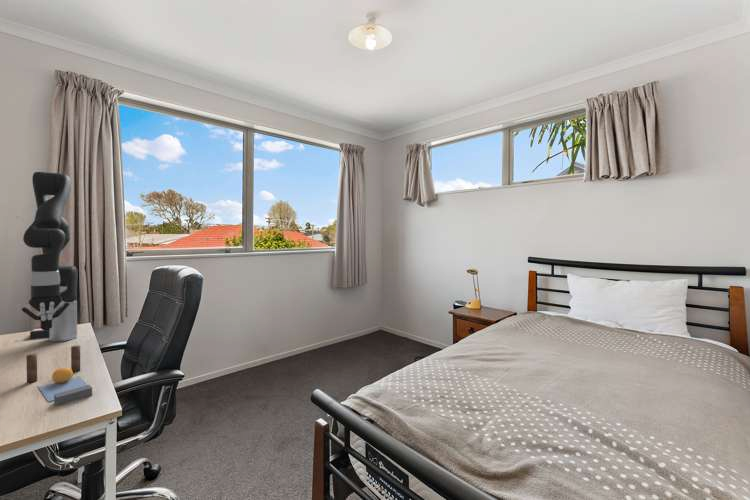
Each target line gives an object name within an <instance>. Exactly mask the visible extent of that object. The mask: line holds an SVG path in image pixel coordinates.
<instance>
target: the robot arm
mask: <svg viewBox="0 0 750 500" xmlns="http://www.w3.org/2000/svg"><path fill="white" fill-rule="evenodd" d="M32 174H33V175H32V182H31V183H32V188H33V194H34V197H35V202H36V211H35V216H34V220H33V222H31V224H30V225H29V227H28V228H27V229H26V230H25V231H24V234H23V236H22V237H23V238H22V240H23V243H24V244H25V245H26V246H27V247H29V248H33V249H36V248H37V249H42V251H41V252H42V253H39V254H34V255H33V256H32V257H31V272H30V273H31V274H30V299H29V301H28V304H26V305H23V306H21V307H20V310H21V311H22V312H24V314H26V315H27V316H29V317H30V318H31V319H32V320H35V321H39V326H40V328H41V329H43V330H44V331H46V330H49V337H48V338H49V339H48V340H49V342H54V343H55V342H57V343H58V342H64V341H70V340H73V339H76V338H77V337H78V280H79V279H78V277H79V274H78V273H79V272H78V268H77V267H76V266H74V265H73V266H71V265H63V266H61V265H60V255H61V252H62V251H63V250H64V249H65V247H66V246H67V245H68V244H69V242H70V240H71V232H70V225H69V223H68V222H67V220H66V219H65V218H64V217H63V212H64V209H65V206H66V205H67V202H68V199H69V197H70V194H71V190H72V183H71V178H70V176H68V175H67V174H64V173H58V172H57V173H56V172H47V171H35V172H33V173H32ZM48 196H53V197H51V198H48ZM61 287H66V289H65V290H63V291H61ZM32 308H33V309H35V310H36V311H37V312H38V314H39V315H36V314H35V313H34V312H33V311H32Z"/></svg>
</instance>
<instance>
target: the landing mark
mask: <svg viewBox="0 0 750 500" xmlns="http://www.w3.org/2000/svg"><path fill="white" fill-rule="evenodd" d="M86 385H88V384H87V382H86V381H85V380H84V379H83V378H81V376H77V377H71V378H70V379H69V380H68V381H66V382H64V383H56V382H51V383H49V384H45V385H44V384H43V385H41V386H40V385H39V386H38V389H39V390H40V393H42V395H43V396H44V398H45V399H46V401H47V402H48V403H50V402H54V394H57V393H61V392H64V391H68V390H72V389H75V388H79V387H83V386H86Z"/></svg>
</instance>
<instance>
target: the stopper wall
mask: <svg viewBox="0 0 750 500" xmlns="http://www.w3.org/2000/svg"><path fill="white" fill-rule="evenodd" d="M92 396H93V387H92V386H91V385H90V384H87V385H86V386H83V387H79V388H75V389H72V390H68V391H64V392H61V393H57V394H54V401H53V404H55V406H56V407H58V406H62V405H65V404H68V403H71V402H75V401H79V400H82V399H86V398H89V397H92Z"/></svg>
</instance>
